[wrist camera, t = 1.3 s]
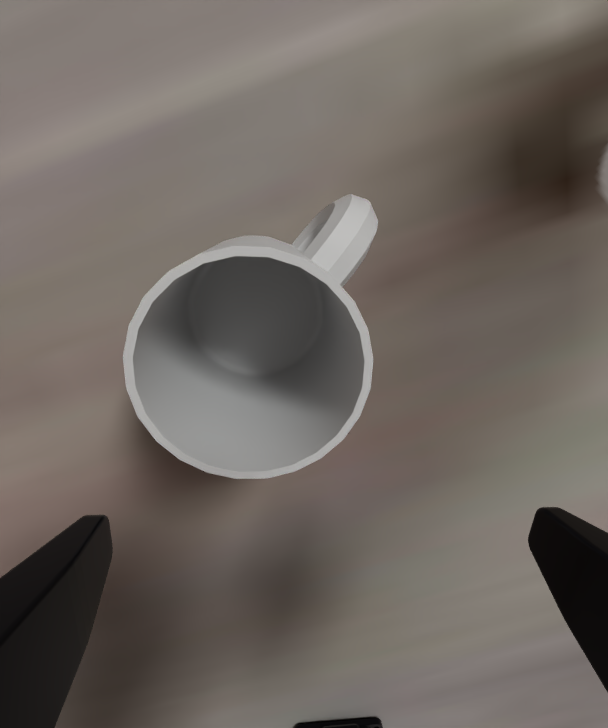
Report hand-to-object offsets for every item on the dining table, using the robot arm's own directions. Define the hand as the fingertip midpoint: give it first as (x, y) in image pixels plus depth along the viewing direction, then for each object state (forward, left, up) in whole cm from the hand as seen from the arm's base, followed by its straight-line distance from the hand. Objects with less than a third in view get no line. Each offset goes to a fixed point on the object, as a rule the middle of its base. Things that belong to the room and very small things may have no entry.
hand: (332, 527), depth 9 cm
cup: (+3, +1, -14) cm, 14 cm away
